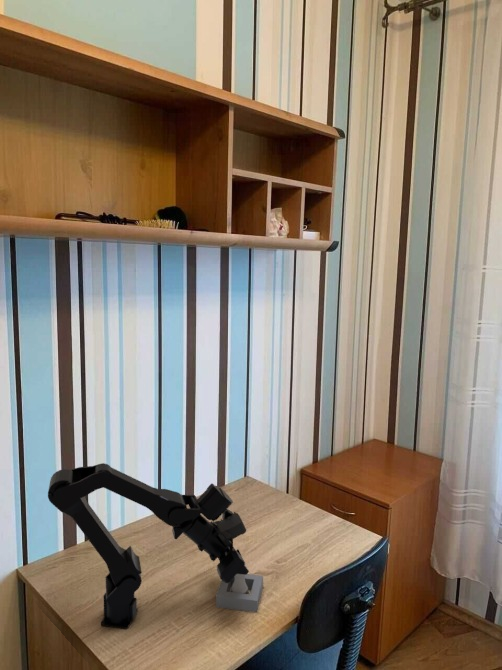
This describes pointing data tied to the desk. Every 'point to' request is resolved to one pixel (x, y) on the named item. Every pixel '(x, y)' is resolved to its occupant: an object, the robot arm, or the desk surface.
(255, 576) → the hollow square block
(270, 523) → the desk surface
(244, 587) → the rook chess piece
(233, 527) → the robot arm
